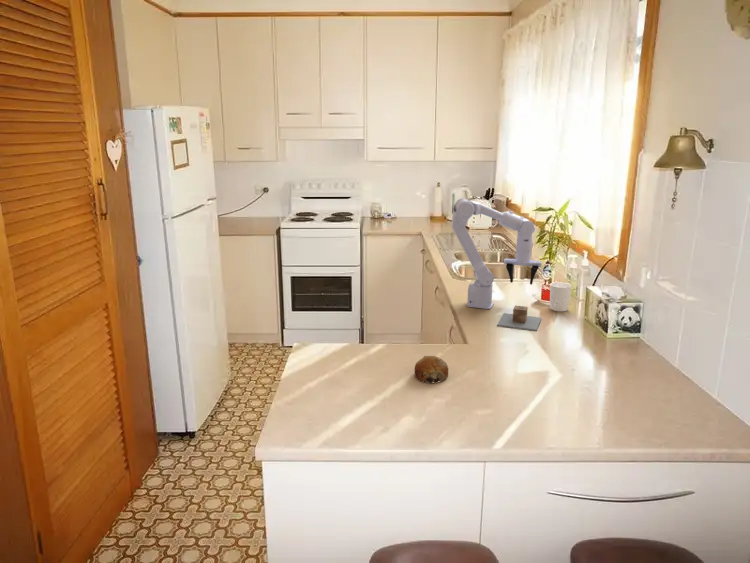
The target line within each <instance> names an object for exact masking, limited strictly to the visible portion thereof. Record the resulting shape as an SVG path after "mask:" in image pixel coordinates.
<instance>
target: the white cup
mask: <svg viewBox="0 0 750 563" xmlns="http://www.w3.org/2000/svg"><path fill="white" fill-rule="evenodd" d="M549 287H550V288H549V309H550V310H551V311H555V312H566V311H568V309H569V304H570V298H571V291H572V284H570V283H568V282H561V281H560V282H559V281H556V282H555V281H554V282H550V285H549Z"/></svg>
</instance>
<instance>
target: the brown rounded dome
mask: <svg viewBox="0 0 750 563" xmlns="http://www.w3.org/2000/svg"><path fill="white" fill-rule="evenodd" d="M414 377H416V378H417V379H418V380H417V379H416V378H415V379H416V380H417V381H419V380H420V381H419V382H421V381H424V382H423V383H425V382H438V381H441V382H443V381H445V380H446V379H447V378H448V377H449V367H448V364H447V362H446V361H444V359H443V358H441V357H438V356H437V355H424V356H423V357H422V358H420V359H419V360H418V361H417V362H416V363H415V365H414ZM444 379H445V380H444ZM438 383H439V382H438Z"/></svg>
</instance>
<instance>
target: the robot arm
mask: <svg viewBox="0 0 750 563" xmlns="http://www.w3.org/2000/svg"><path fill="white" fill-rule="evenodd" d="M473 215H474V216H477V215H484V216H487V217H489V218H491V219H494V220H497V221H498V222H499V225H500V226H502V227H505V228H508V229H510V230H513V231H515V232H517V237H516V248H515V258H504V260H503V265H506V266H505V268H506V271H507V273H508V276H509V281H510V283H513V282H514V267H515V266H523V267H525V266H526V267H530V280H529V285H531V286H532V285H533V282H534V279H535V276H536V273H537V272H538V270H539V268H542V267H543V262H542V261H539V260H532V259H531V256H532V246H533V244H532V242H533V233H534V232H535V231H536V230H535V229H536V228H535V225H534V223H533V222H532V221H530V219H528V218H525V216H523V215H521V216H519V215H518V214H514V212H513V211H511V210H509V211H507V210H506V211H502V212H500V211H499V210H496V209H494V208H492V207H490V206H487V205H485V204H483V203H481V202H477V201H474V200H469V199H467V198H463V197H462V198H459V199H458V200H456V202H455V203H454V206H453V207H452V219H451V228H452V231H453V232H454V235H455V236H456V238H457V239H458V241H459V243H460V244H461V245H460V246H461V247H462V248H463V251H464V253H465V254H466V257H467V259H468V260H469V262H470V265H471V267H472V269H473V276H474V278H475V280H474V282H473V283H472V282H471V283H470V282H469V284H468V289H467V301H466V302H467V303H466V304H467V305H466V307H468V308H469V307H471V308H477V309H486V310H491V309H492V307H493V306H494V305H495V302H493V301H492V300H493V282H495V275H494V273H493V272H491V271H490V269H489V268H488V267H487V266H486V264H485V262H484V260H483V258H482V257H481V255H480V252H479V250H478V249H477V247H476V244H474V241H473V239H472V238H471V235H470V233H469V231H468V229H467V227H466V226H467V224H468V221H469V219H471V217H472V216H473Z"/></svg>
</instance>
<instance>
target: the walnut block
mask: <svg viewBox="0 0 750 563" xmlns="http://www.w3.org/2000/svg"><path fill="white" fill-rule="evenodd" d="M512 314H513V322H517V323H525V322H526V320H527V316H528V306H523V305H514V306H513V309H512Z"/></svg>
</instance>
